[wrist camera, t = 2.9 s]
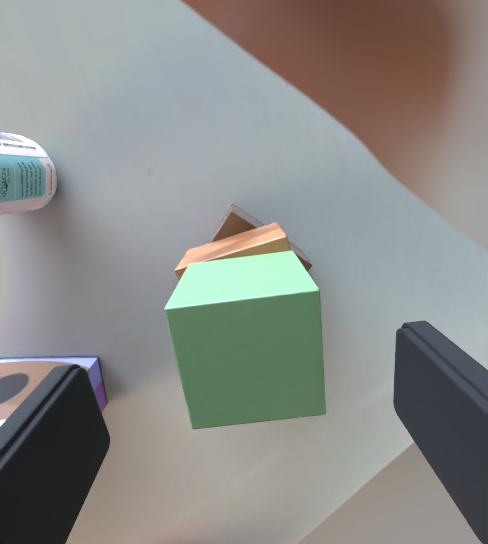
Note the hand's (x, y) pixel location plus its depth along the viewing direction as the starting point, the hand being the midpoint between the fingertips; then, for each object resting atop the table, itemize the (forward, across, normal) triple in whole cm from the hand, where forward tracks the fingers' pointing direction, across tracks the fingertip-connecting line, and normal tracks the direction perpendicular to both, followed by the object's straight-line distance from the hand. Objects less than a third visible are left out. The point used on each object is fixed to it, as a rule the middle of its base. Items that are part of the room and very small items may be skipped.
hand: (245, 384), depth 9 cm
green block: (+6, 0, 0) cm, 6 cm away
